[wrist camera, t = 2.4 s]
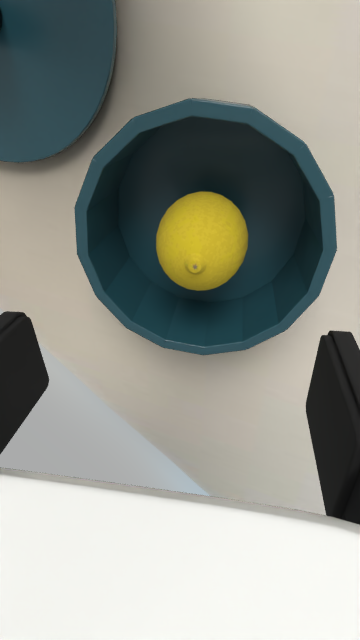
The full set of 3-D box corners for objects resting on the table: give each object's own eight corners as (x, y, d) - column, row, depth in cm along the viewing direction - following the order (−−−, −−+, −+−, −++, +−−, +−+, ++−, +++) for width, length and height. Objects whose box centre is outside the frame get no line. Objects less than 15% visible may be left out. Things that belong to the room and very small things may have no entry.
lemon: (237, 263, 26) (236, 321, 19) (165, 251, 26) (139, 303, 19) (255, 186, 23) (261, 223, 16) (173, 173, 23) (145, 204, 16)
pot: (83, 248, 27) (45, 285, 22) (167, 46, 20) (139, 27, 14) (235, 334, 30) (233, 386, 24) (363, 182, 22) (402, 209, 17)
